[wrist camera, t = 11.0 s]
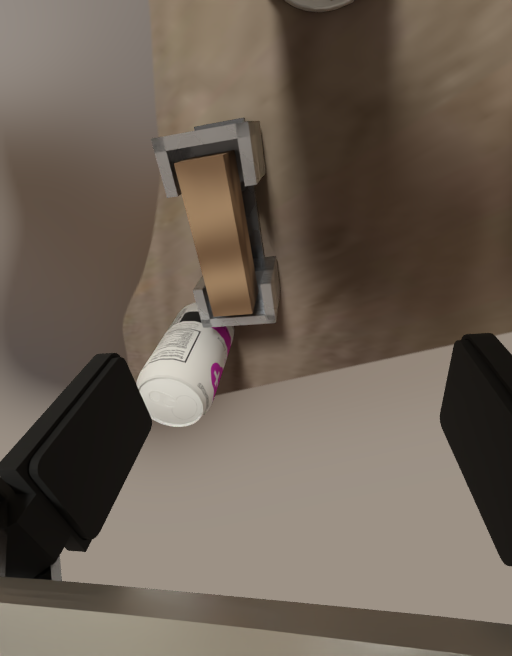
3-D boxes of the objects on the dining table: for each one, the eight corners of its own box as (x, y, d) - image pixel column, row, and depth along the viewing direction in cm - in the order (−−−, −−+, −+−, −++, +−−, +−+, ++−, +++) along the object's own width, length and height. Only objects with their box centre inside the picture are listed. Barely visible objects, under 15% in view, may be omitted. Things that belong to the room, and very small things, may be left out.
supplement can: (244, 314, 44) (220, 392, 31) (222, 357, 48) (194, 440, 36) (188, 289, 43) (140, 359, 30) (171, 335, 47) (123, 413, 35)
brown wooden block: (192, 157, 30) (173, 163, 26) (234, 149, 29) (222, 154, 25) (223, 294, 37) (213, 316, 33) (258, 291, 36) (252, 313, 32)
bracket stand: (182, 129, 33) (148, 131, 26) (259, 115, 32) (246, 113, 24) (220, 296, 43) (204, 331, 36) (281, 291, 41) (276, 326, 34)
